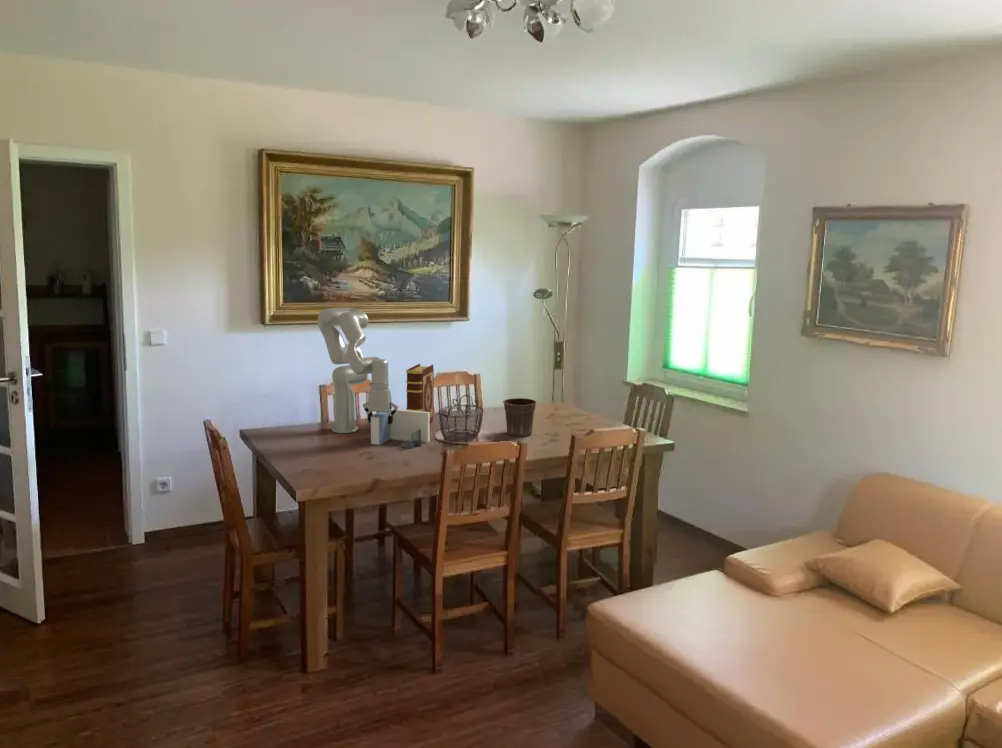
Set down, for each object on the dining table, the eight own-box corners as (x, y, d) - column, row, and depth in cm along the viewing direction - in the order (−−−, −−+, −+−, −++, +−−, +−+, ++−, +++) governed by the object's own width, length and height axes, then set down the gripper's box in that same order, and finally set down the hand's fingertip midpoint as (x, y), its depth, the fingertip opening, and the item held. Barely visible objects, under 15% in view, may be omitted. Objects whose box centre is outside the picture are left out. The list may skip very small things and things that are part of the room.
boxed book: (370, 444, 351) (370, 416, 349) (380, 438, 361) (380, 411, 359) (379, 445, 350) (379, 417, 347) (389, 439, 360) (389, 412, 358)
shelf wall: (376, 437, 363) (375, 408, 360) (378, 436, 366) (378, 407, 363) (427, 442, 356) (427, 413, 353) (430, 441, 359) (430, 411, 356)
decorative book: (420, 431, 376) (420, 371, 371) (404, 430, 378) (404, 370, 373) (433, 421, 398) (434, 364, 393) (418, 420, 399) (419, 363, 394)
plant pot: (509, 438, 366) (510, 405, 364) (497, 430, 381) (498, 399, 378) (540, 436, 372) (542, 403, 369) (527, 428, 387) (528, 397, 384)
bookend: (397, 446, 348) (397, 432, 347) (406, 441, 357) (406, 427, 356) (417, 448, 345) (417, 434, 344) (425, 443, 355) (425, 429, 354)
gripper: (359, 386, 350) (359, 423, 353) (394, 389, 345) (394, 426, 348) (366, 383, 357) (367, 420, 360) (400, 386, 352) (401, 422, 355)
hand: (380, 423), depth 354 cm, fingers open, 9 cm apart
